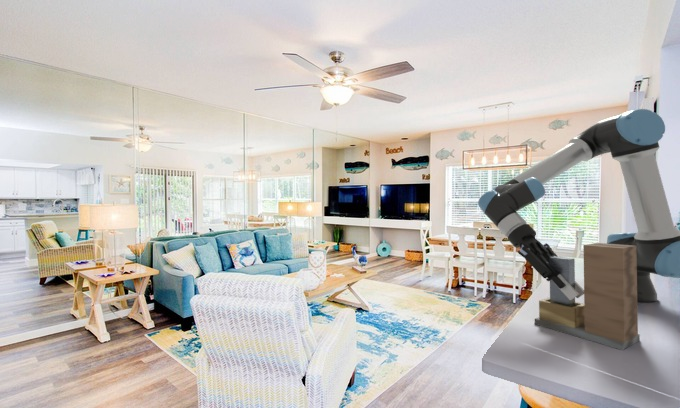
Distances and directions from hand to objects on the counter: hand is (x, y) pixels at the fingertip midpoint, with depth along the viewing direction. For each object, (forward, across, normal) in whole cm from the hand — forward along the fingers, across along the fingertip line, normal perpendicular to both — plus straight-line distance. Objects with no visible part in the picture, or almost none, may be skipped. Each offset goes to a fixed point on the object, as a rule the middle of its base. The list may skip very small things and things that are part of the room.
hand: (578, 296), depth 88 cm
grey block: (+2, 0, -7) cm, 7 cm away
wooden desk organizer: (+7, 0, -6) cm, 9 cm away
